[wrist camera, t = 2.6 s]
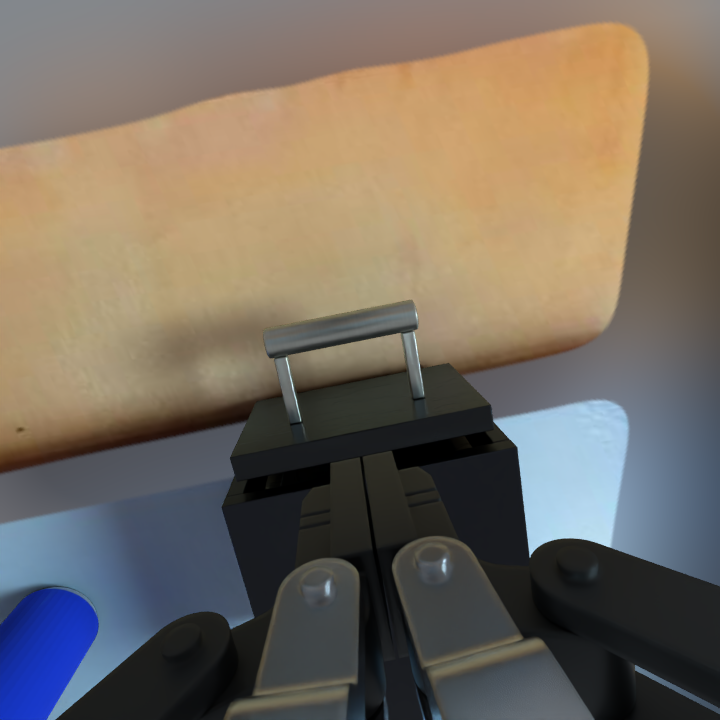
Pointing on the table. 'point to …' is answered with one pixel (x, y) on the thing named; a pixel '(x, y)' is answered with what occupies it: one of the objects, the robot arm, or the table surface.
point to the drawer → (355, 404)
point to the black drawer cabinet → (448, 470)
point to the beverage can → (43, 650)
